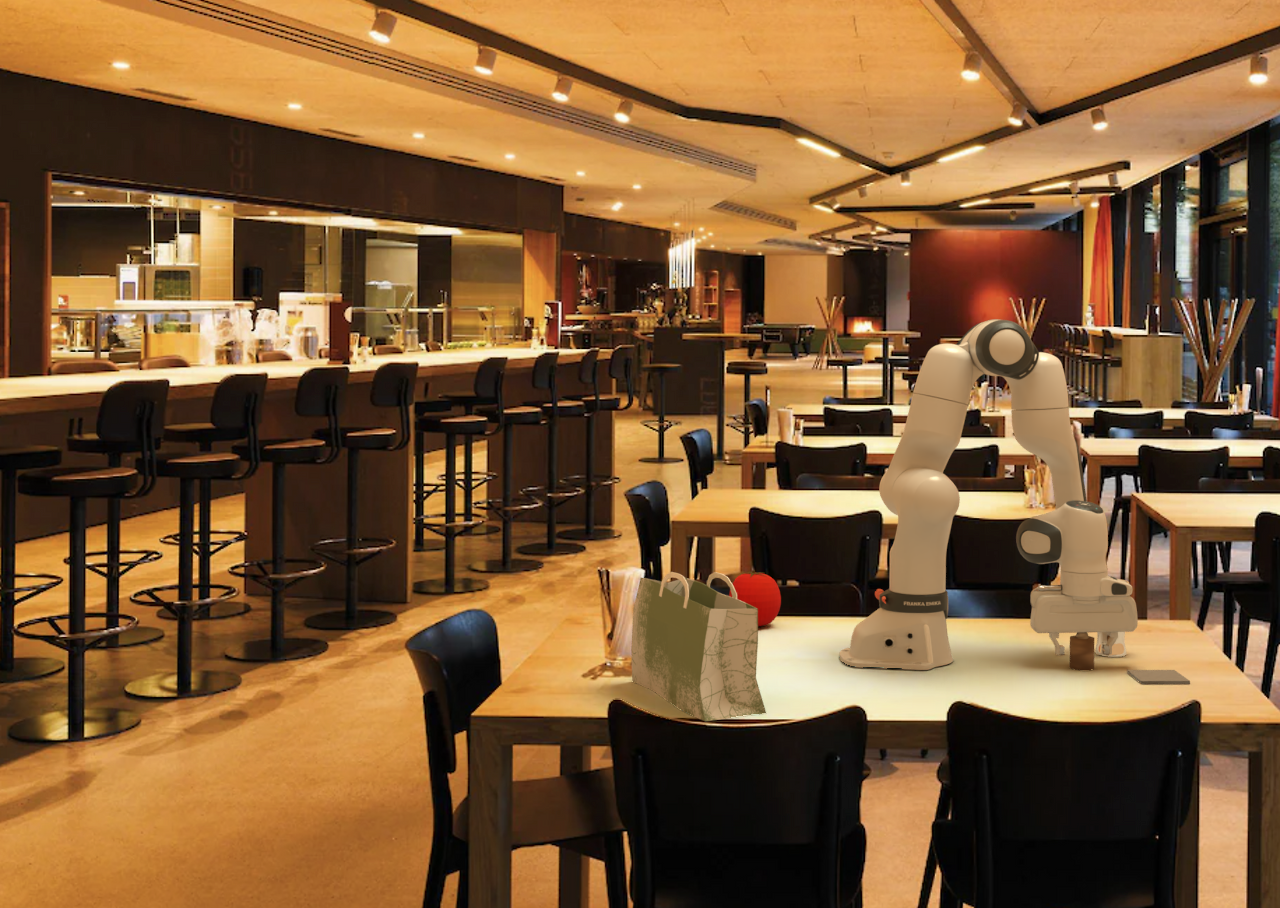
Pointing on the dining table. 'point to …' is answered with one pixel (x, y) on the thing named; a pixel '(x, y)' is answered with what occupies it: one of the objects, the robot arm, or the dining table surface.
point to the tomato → (759, 594)
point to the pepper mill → (1081, 652)
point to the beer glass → (1118, 646)
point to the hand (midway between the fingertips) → (1083, 654)
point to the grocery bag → (696, 647)
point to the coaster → (1158, 677)
